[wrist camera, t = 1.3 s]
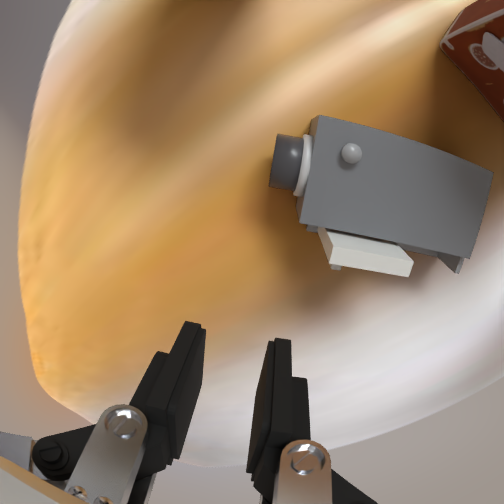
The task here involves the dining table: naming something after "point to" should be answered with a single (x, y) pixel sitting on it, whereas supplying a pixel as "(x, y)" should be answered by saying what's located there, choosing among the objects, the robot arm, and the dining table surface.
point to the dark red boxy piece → (480, 48)
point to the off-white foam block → (364, 252)
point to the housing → (383, 188)
